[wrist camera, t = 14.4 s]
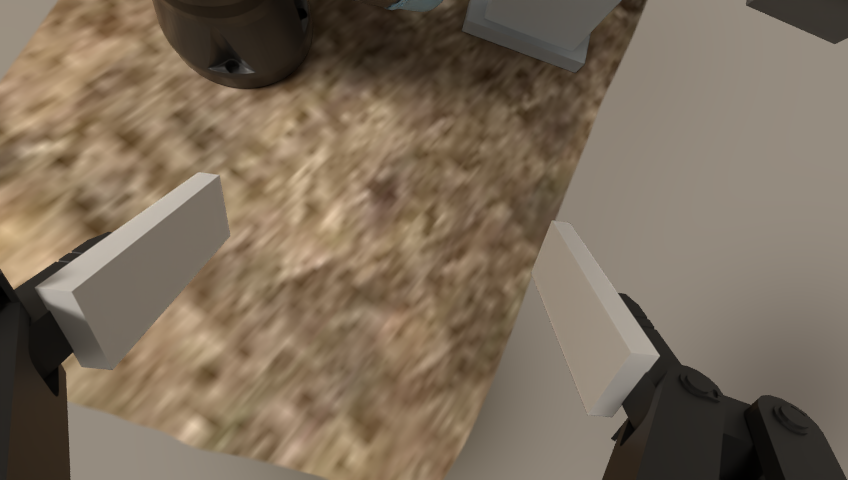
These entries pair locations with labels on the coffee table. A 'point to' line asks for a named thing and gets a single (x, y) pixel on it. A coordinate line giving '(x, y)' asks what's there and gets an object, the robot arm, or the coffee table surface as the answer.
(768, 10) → the bar
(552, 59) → the post
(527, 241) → the coffee table surface
